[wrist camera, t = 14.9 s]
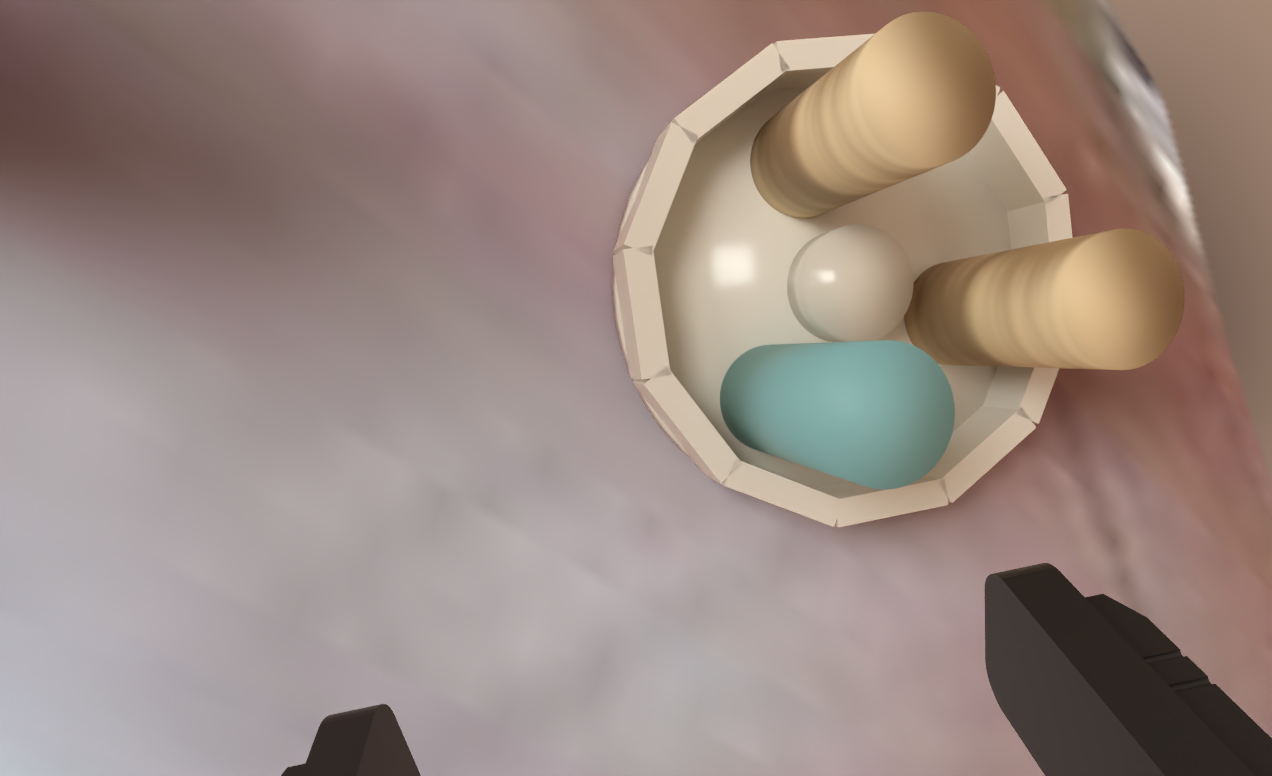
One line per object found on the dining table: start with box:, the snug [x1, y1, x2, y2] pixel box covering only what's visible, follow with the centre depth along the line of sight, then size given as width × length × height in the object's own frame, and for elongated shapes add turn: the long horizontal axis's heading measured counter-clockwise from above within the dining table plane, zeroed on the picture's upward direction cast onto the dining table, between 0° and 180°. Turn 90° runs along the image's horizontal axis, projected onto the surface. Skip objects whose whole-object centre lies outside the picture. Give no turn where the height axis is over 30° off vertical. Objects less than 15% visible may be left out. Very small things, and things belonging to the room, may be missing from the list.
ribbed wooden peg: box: [904, 228, 1184, 370], centre depth 31 cm, size 5×5×10 cm
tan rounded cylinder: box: [750, 12, 996, 218], centre depth 30 cm, size 5×5×10 cm
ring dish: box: [612, 34, 1072, 527], centre depth 34 cm, size 20×20×4 cm
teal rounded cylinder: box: [720, 340, 955, 490], centre depth 30 cm, size 5×5×10 cm
